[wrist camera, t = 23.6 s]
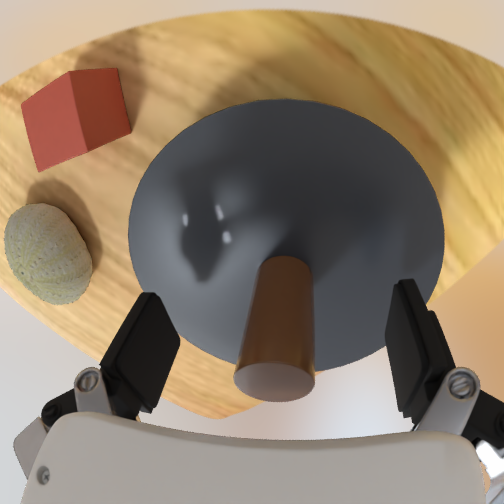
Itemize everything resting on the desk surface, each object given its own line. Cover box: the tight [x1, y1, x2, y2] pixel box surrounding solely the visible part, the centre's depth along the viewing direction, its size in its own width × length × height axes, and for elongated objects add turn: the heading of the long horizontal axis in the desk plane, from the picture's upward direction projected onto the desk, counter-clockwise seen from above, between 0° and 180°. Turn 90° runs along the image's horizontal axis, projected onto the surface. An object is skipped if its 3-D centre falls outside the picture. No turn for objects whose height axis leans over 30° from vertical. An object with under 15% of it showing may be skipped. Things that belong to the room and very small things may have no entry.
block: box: [21, 68, 131, 172], centre depth 13 cm, size 4×4×4 cm
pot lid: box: [128, 98, 444, 402], centre depth 11 cm, size 15×15×7 cm
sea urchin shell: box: [4, 203, 92, 305], centre depth 19 cm, size 9×8×8 cm
